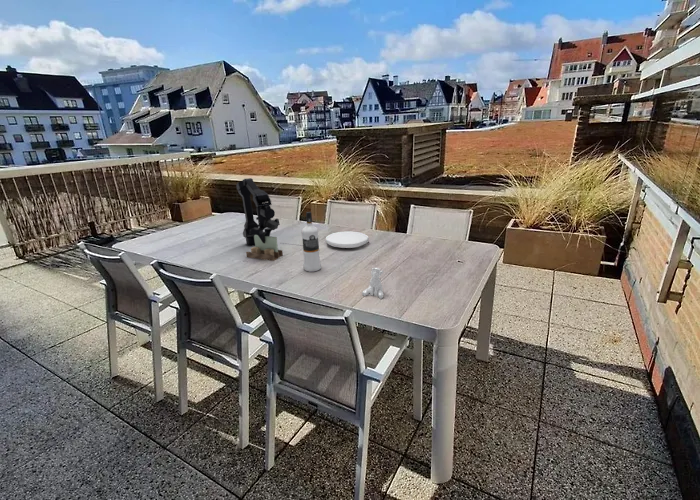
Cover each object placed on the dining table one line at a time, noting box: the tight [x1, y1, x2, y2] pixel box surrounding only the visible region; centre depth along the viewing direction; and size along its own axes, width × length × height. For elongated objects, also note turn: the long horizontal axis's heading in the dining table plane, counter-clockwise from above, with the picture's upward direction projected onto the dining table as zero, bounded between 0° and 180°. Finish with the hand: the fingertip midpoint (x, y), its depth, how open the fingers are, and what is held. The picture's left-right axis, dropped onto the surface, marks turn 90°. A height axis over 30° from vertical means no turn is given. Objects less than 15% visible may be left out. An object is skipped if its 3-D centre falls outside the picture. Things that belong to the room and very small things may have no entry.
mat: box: [280, 242, 303, 247], centre depth 211 cm, size 18×12×1 cm, turn 68°
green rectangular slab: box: [254, 235, 279, 252], centre depth 197 cm, size 14×2×11 cm, turn 68°
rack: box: [245, 249, 284, 262], centre depth 196 cm, size 18×9×4 cm, turn 68°
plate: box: [325, 230, 370, 249], centre depth 216 cm, size 28×6×27 cm
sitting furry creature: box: [361, 267, 384, 300], centre depth 150 cm, size 10×9×12 cm
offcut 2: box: [264, 248, 274, 255], centre depth 192 cm, size 4×3×5 cm
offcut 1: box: [250, 246, 261, 253], centre depth 196 cm, size 4×3×5 cm
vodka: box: [301, 211, 322, 273], centre depth 175 cm, size 9×9×30 cm
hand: (265, 242), depth 196 cm, fingers open, 3 cm apart
